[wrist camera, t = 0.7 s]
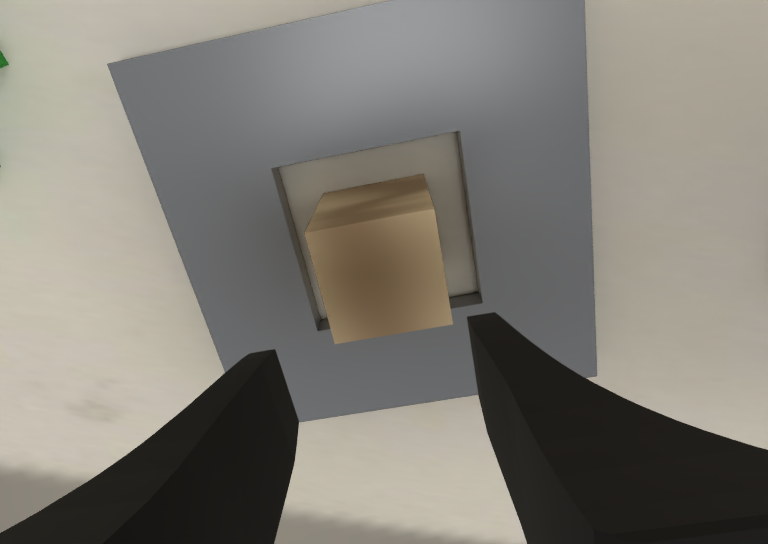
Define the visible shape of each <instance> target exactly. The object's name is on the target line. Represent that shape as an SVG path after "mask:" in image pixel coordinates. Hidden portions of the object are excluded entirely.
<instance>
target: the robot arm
mask: <svg viewBox="0 0 768 544" xmlns="http://www.w3.org/2000/svg"><path fill="white" fill-rule="evenodd" d="M467 322H468V329H469V335H470V342H471V349H472V356H473V362H474V369H475V376H476V383H477V389H478V395H479V399H480V403H481V408H482V412H483V416H484V420H485V424H486V428H487V432H488V435H489V438H490V441H491V444H492V447H493V449H494V452H495V455H496V458H497V460H498V463H499V466H500V468H501V471H502V474H503V477H504V479H505V482H506V485H507V488H508V490H509V493H510V496H511V498H512V501H513V504H514V507H515V509H516V512H517V515H518V517H519V520H520V523H521V526H522V529H523V532H524V535H525V538H526V541H527V544H768V450H766V449H762V448H758V447H755V446H752V445H748V444H745V443H742V442H739V441H736V440H732V439H729V438H726V437H723V436H720V435H717V434H714V433H711V432H707V431H704V430H702V429H699V428H696V427H693V426H690V425H688V424H685V423H682V422H679V421H677V420H674V419H672V418H669V417H667V416H664V415H662V414H659V413H657V412H655V411H652V410H650V409H647V408H645V407H642V406H640V405H638V404H636V403H633V402H631V401H629V400H627V399H625V398H622V397H620V396H619V395H617V394H615V393H613V392H611V391H609V390H607V389H605V388H603V387H601V386H599V385H597V384H595V383H593V382H591V381H590V380H588V379H586V378H584V377H582V376H581V375H579V374H577V373H576V372H574V371H573V370H571V369H569V368H568V367H566V366H565V365H563V364H562V363H560V362H559V361H557V360H556V359H554V358H553V357H551V356H550V355H549V354H547V353H546V352H544V351H543V350H542V349H540V348H539V347H538V346H536V345H535V344H534V343H532V342H531V341H530V340H528V339H527V338H526V337H525V336H523V335H522V334H521V333H520V332H519V331H517V330H516V329H515V328H514V327H513V326H511V325H510V324H509V323H508V322H507V321H506V320H504V319H503V318H502V317H501V316H500V315H498V314H497V313H495V312H492V313H486V314H480V315H474V316H468V317H467ZM298 426H299V420H298V417H297V414H296V411H295V407H294V404H293V401H292V398H291V395H290V392H289V389H288V386H287V383H286V380H285V377H284V374H283V371H282V368H281V365H280V362H279V359H278V356H277V353H276V350H275V349H272V350H266V351H260V352H254V353H249V354H248V355H246V356H245V357H244V358H242V359H241V360H240V361H238V362H237V363H236V364H235V365H234V366H233V367H231V368H230V369H229V370H228V371H227V372H226V373H225V374H223V375H222V376H221V377H220V378H219V379H218V380H217V381H216V382H214V383H213V384H212V385H211V386H210V387H209V388H208V389H207V390H205V391H204V392H203V393H202V394H201V395H200V396H199V397H198V398H196V399H195V400H194V401H193V402H192V403H191V404H190V405H188V406H187V407H186V408H185V409H184V410H183V411H181V412H180V413H179V414H178V415H176V416H175V417H174V418H173V419H172V420H170V421H169V422H168V423H167V424H166V425H164V426H163V427H162V428H161V429H159V430H158V431H157V432H156V433H155V434H153V435H152V436H151V437H150V438H148V439H147V440H146V441H145V442H143V443H142V444H141V445H139V446H138V447H137V448H135V449H134V450H133V451H131V452H130V453H129V454H127V455H126V456H124V457H123V458H122V459H120V460H119V461H117V462H116V463H114V464H113V465H112V466H110V467H109V468H107V469H106V470H104V471H103V472H101V473H100V474H98V475H97V476H95V477H94V478H92V479H91V480H89V481H88V482H86V483H85V484H83V485H81V486H80V487H78V488H76V489H75V490H73V491H72V492H70V493H68V494H67V495H65V496H63V497H62V498H60V499H59V500H57V501H55V502H54V503H52V504H50V505H49V506H47V507H46V508H44V509H42V510H41V511H39V512H37V513H36V514H34V515H32V516H30V517H29V518H27V519H25V520H23V521H21V522H19V523H18V524H16V525H14V526H12V527H11V528H9V529H7V530H5V531H3V532H1V533H0V544H274V541H275V537H276V533H277V529H278V526H279V522H280V518H281V514H282V510H283V506H284V502H285V499H286V495H287V491H288V487H289V483H290V478H291V474H292V470H293V466H294V462H295V454H296V446H297V436H298Z"/></svg>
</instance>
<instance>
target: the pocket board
mask: <svg viewBox="0 0 768 544" xmlns="http://www.w3.org/2000/svg"><path fill="white" fill-rule="evenodd" d="M107 65H108V68H109V70H110V73H111V76H112V78H113V81H114V83H115V86H116V89H117V91H118V94H119V97H120V99H121V102H122V104H123V107H124V110H125V112H126V115H127V117H128V120H129V123H130V125H131V128H132V130H133V133H134V136H135V138H136V141H137V144H138V146H139V149H140V151H141V154H142V157H143V159H144V162H145V164H146V167H147V170H148V172H149V175H150V177H151V180H152V183H153V185H154V188H155V191H156V193H157V196H158V198H159V201H160V204H161V206H162V209H163V211H164V214H165V217H166V219H167V222H168V224H169V227H170V230H171V232H172V235H173V237H174V240H175V243H176V245H177V248H178V251H179V253H180V256H181V258H182V261H183V264H184V266H185V269H186V271H187V274H188V277H189V279H190V282H191V284H192V287H193V290H194V292H195V295H196V298H197V300H198V303H199V305H200V308H201V311H202V313H203V316H204V318H205V321H206V324H207V326H208V329H209V331H210V334H211V337H212V339H213V342H214V345H215V347H216V350H217V352H218V355H219V358H220V360H221V363H222V365H223V368H224V371H225V373H226V372H227V371H228V370H229V369H230V368H231V367H233V366H234V365H235V364H236V363H237V362H238V361H240V360H241V359H242V358H244V357H245V356H246V355H248V354H249V353H254V352H260V351H266V350H272V349H275V350H276V353H277V356H278V359H279V362H280V365H281V368H282V371H283V374H284V377H285V380H286V383H287V386H288V389H289V392H290V395H291V398H292V401H293V404H294V407H295V411H296V414H297V417H298V420H299V422H304V421H311V420H317V419H324V418H330V417H337V416H343V415H349V414H356V413H362V412H369V411H375V410H382V409H388V408H395V407H401V406H408V405H414V404H421V403H427V402H433V401H440V400H446V399H453V398H459V397H466V396H472V395H478V389H477V383H476V376H475V369H474V362H473V356H472V349H471V342H470V335H469V329H468V322H467V317H468V316H474V315H480V314H486V313H492V312H495V313H497V314H498V315H500V316H501V317H502V318H503V319H504V320H506V321H507V322H508V323H509V324H510V325H511V326H513V327H514V328H515V329H516V330H517V331H519V332H520V333H521V334H522V335H523V336H525V337H526V338H527V339H528V340H530V341H531V342H532V343H534V344H535V345H536V346H538V347H539V348H540V349H542V350H543V351H544V352H546V353H547V354H549V355H550V356H551V357H553V358H554V359H556V360H557V361H559V362H560V363H562V364H563V365H565V366H566V367H568V368H569V369H571V370H573V371H574V372H576V373H577V374H579V375H581V376H582V377H584V378H588V377H595V376H597V358H596V329H595V299H594V269H593V239H592V209H591V180H590V150H589V120H588V90H587V61H586V31H585V1H584V0H390V1H385V2H381V3H377V4H372V5H368V6H363V7H359V8H354V9H350V10H345V11H341V12H336V13H332V14H327V15H323V16H319V17H314V18H310V19H305V20H301V21H296V22H292V23H287V24H283V25H278V26H274V27H269V28H265V29H261V30H256V31H252V32H247V33H243V34H238V35H234V36H229V37H225V38H220V39H216V40H211V41H207V42H203V43H198V44H194V45H189V46H185V47H180V48H176V49H171V50H167V51H162V52H158V53H153V54H149V55H145V56H140V57H136V58H131V59H127V60H122V61H118V62H113V63H109V64H107ZM456 131H457V136H458V143H459V151H460V158H461V166H462V173H463V181H464V188H465V195H466V203H467V210H468V218H469V225H470V232H471V240H472V247H473V255H474V262H475V270H476V277H477V284H478V292H479V293H475V294H469V295H463V296H457V297H452V298H449V302H450V308H451V315H452V321H453V325H447V326H441V327H435V328H429V329H423V330H417V331H411V332H405V333H399V334H393V335H387V336H381V337H375V338H369V339H363V340H357V341H351V342H345V343H339V344H335V343H334V340H333V336H332V332H331V329H330V325H329V321H328V319H324V320H320V316H319V313H318V309H317V306H316V302H315V298H314V295H313V291H312V288H311V284H310V281H309V277H308V273H307V270H306V266H305V263H304V259H303V256H302V252H301V248H300V245H299V241H298V238H297V234H296V231H295V227H294V223H293V220H292V216H291V213H290V209H289V206H288V202H287V198H286V195H285V191H284V188H283V184H282V180H281V177H280V173H279V170H278V167H281V166H286V165H291V164H296V163H301V162H306V161H311V160H316V159H321V158H326V157H331V156H336V155H341V154H346V153H351V152H356V151H361V150H366V149H371V148H376V147H381V146H386V145H391V144H396V143H401V142H406V141H411V140H416V139H421V138H426V137H431V136H436V135H441V134H446V133H451V132H456Z"/></svg>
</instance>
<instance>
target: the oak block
mask: <svg viewBox="0 0 768 544" xmlns="http://www.w3.org/2000/svg"><path fill="white" fill-rule="evenodd" d="M304 234H305V237H306V241H307V245H308V248H309V252H310V256H311V259H312V263H313V267H314V270H315V274H316V277H317V281H318V285H319V288H320V292H321V296H322V299H323V303H324V307H325V310H326V314H327V318H328V321H329V325H330V329H331V332H332V336H333V340H334V343H335V344H339V343H345V342H351V341H357V340H363V339H369V338H375V337H381V336H387V335H393V334H399V333H405V332H411V331H417V330H423V329H429V328H435V327H441V326H447V325H453V321H452V315H451V308H450V302H449V296H448V290H447V284H446V278H445V271H444V265H443V259H442V253H441V247H440V240H439V234H438V228H437V222H436V216H435V209H434V206H433V203H432V200H431V197H430V193H429V190H428V187H427V184H426V181H425V178H424V175H423V174H420V175H415V176H410V177H404V178H399V179H394V180H389V181H384V182H379V183H374V184H368V185H363V186H358V187H353V188H348V189H343V190H337V191H332V192H327V193H324V194H323V196H322V198H321V200H320V202H319V204H318V206H317V208H316V210H315V212H314V214H313V216H312V218H311V220H310V222H309V224H308V227H307V229H306V231H305V233H304Z"/></svg>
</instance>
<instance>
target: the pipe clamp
mask: <svg viewBox="0 0 768 544" xmlns="http://www.w3.org/2000/svg"><path fill="white" fill-rule="evenodd" d="M6 65H9V64H8V62H7V61H6V59H5V57H4V56H3V54H2V53H1V51H0V68H2V67H4V66H6ZM0 167H1V166H0Z"/></svg>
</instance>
